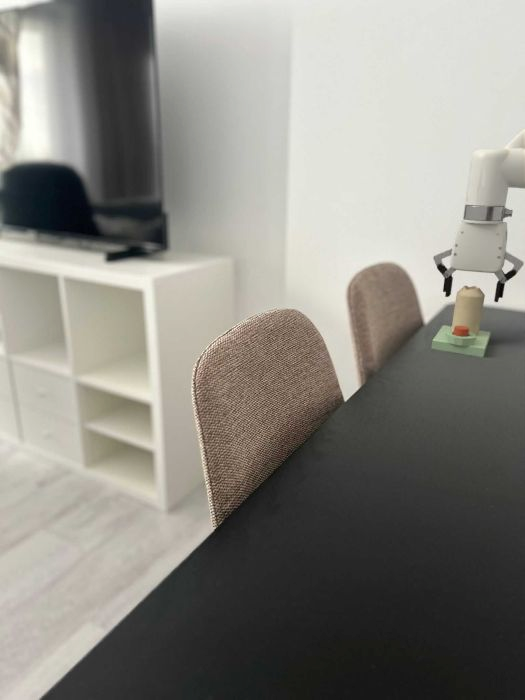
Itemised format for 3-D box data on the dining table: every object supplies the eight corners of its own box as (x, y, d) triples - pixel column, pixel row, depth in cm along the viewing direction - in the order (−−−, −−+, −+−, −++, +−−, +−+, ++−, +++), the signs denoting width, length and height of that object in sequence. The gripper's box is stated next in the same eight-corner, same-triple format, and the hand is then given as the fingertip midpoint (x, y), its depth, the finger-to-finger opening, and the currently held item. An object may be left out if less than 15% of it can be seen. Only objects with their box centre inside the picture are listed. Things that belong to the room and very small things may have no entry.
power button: (468, 335, 105) (470, 326, 104) (467, 338, 102) (468, 330, 102) (454, 332, 106) (455, 324, 105) (452, 336, 103) (453, 328, 103)
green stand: (489, 340, 112) (491, 324, 111) (483, 358, 101) (485, 341, 99) (441, 333, 116) (443, 318, 115) (430, 350, 105) (432, 333, 104)
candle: (446, 332, 111) (453, 286, 107) (458, 327, 114) (465, 283, 111) (471, 337, 107) (479, 290, 104) (482, 332, 111) (490, 287, 107)
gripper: (532, 215, 102) (517, 299, 108) (441, 211, 109) (432, 290, 115) (531, 218, 96) (515, 307, 101) (435, 214, 103) (426, 297, 109)
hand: (471, 298), depth 108 cm, fingers open, 9 cm apart
